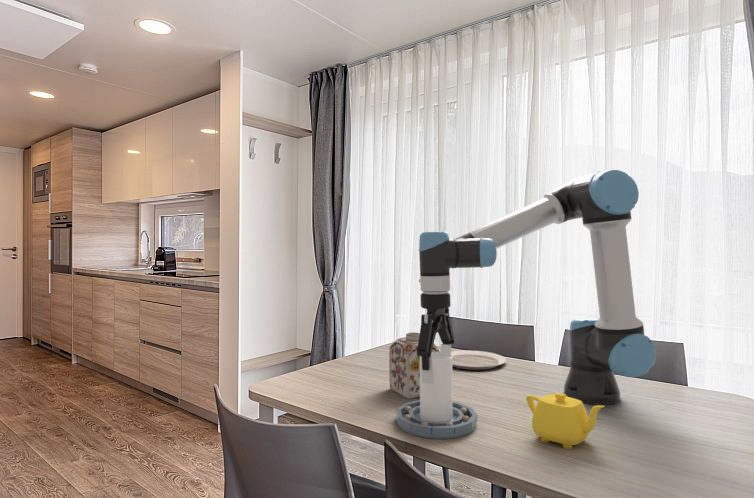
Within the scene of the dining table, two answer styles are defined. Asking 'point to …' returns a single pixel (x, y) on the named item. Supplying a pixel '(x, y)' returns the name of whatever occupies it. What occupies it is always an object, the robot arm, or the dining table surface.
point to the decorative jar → (406, 366)
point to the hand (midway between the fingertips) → (437, 375)
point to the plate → (488, 355)
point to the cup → (437, 390)
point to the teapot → (561, 419)
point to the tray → (436, 428)
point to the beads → (464, 419)
